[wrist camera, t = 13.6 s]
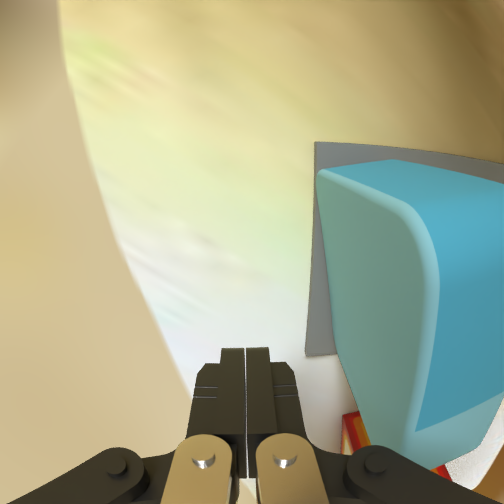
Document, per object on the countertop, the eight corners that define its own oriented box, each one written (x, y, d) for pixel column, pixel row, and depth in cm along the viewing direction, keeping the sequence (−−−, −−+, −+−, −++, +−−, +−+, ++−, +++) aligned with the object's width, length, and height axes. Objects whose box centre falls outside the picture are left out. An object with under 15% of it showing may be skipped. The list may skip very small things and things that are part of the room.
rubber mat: (314, 141, 17) (316, 141, 16) (523, 168, 17) (528, 170, 16) (304, 351, 22) (306, 356, 21) (491, 325, 22) (495, 328, 21)
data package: (392, 330, 20) (473, 460, 9) (333, 345, 21) (387, 496, 9) (385, 156, 16) (552, 197, 5) (311, 167, 17) (430, 222, 5)
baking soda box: (395, 450, 27) (436, 564, 12) (339, 465, 27) (367, 588, 12) (409, 396, 24) (476, 537, 9) (342, 414, 24) (387, 575, 9)
